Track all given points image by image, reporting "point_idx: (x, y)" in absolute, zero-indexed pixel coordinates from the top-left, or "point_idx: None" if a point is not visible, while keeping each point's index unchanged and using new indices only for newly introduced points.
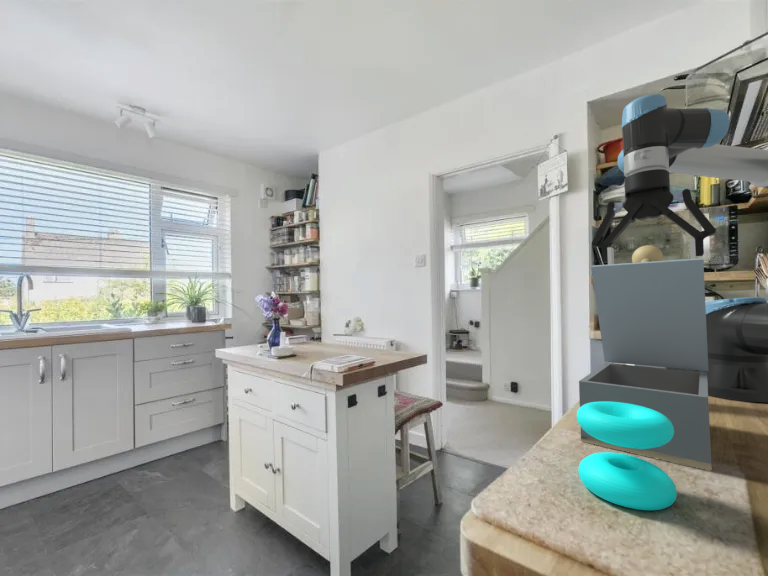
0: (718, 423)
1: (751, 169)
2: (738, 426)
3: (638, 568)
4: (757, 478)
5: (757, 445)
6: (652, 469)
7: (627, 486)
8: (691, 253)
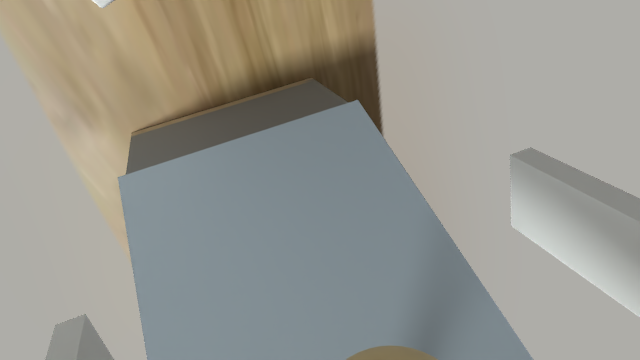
0: (315, 29)
1: None
2: (343, 19)
3: None
4: None
5: (377, 117)
6: None
7: None
8: (613, 292)
